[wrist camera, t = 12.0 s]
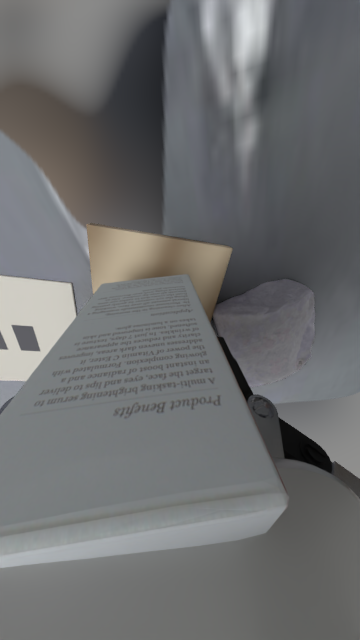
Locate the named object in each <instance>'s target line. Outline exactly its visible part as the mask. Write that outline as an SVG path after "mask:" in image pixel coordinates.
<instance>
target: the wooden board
mask: <svg viewBox="0 0 360 640" xmlns="http://www.w3.org/2000/svg"><path fill="white" fill-rule="evenodd" d="M87 235H88V245H89V256H90V266H91V277H92V288H93V295H94V293H95V292H96V291H97V289H98V288H99V287H100V285H101V284H104V283H113V282H120V281H129V280H138V279H147V278H156V277H165V276H174V275H183V274H188V275H189V276H190V279H191V281H192V283H193V286H194V288H195V290H196V292H197V294H198V296H199V298H200V301H201V303H202V305H203V307H204V310H205V312H206V314H207V317H208V319H209V321H210V322H211V319H212V315H213V312H214V309H215V306H216V302H217V299H218V296H219V292H220V289H221V286H222V282H223V279H224V276H225V272H226V269H227V266H228V262H229V259H230V256H231V252H232V249H233V248H231V247H229V246H225V245H219V244H213V243H207V242H201V241H195V240H189V239H183V238H177V237H171V236H165V235H159V234H153V233H147V232H141V231H135V230H129V229H123V228H117V227H111V226H105V225H99V224H93V223H90V224H87Z"/></svg>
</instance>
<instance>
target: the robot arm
mask: <svg viewBox="0 0 360 640" xmlns="http://www.w3.org/2000/svg"><path fill="white" fill-rule="evenodd" d="M217 338H218V340H219V342H220V344H221V347H222V349H223V351H224V353H225V356H226V358H227V360H228V362H229V364H230V367H231V369H232V371H233V373H234V376H235V378H236V380H237V383H238V385H239V387H240V389H241V391H242V393H243V395H244V397H245V400H246V402H247V404H248V406H249V408H250V410H251V413H252V415H253V417H254V419H255V421H256V424H257V426H258V428H259V430H260V433H261V435H262V437H263V439H264V442H265V444H266V446H267V448H268V450H269V453H270V455H271V457H272V459H273V461H274V463H275V465H276V467H277V469H278V472H279V474H280V476H281V479H282V481H283V483H284V486H285V488H286V490H287V493H288V495H289V502H288V506H287V508H286V509H285V511H284V512H283V513H282V514H281V515H280V517H279V518H278V519H277V520H276V522H275V523H274V524H273V525H272V527H271V528H270V529H269V530H268V531H267V532H266V533H264V534H260V535H256V536H252V537H248V538H245V539H241V540H236V541H229V542H223V543H216V544H209V545H202V546H193V547H185V548H176V549H167V550H158V551H149V552H140V553H131V554H123V555H114V556H106V557H97V558H89V559H80V560H69V561H59V562H50V563H40V564H30V565H21V566H13V567H5V568H0V640H360V479H359V478H358V477H356V476H355V475H353V474H352V473H351V472H349V471H348V470H346V469H345V468H344V467H342V466H341V465H340V464H338V463H337V462H335V461H334V462H333V463H332V462H331V461H330V458H329V456H328V455H327V454H326V452H325V451H324V450H323V449H322V448H321V447H320V446H319V445H318V444H317V443H316V442H314V441H313V440H311V439H309V438H308V437H307V436H305V435H304V434H302V433H301V432H299V431H298V430H297V429H295V428H294V427H292V426H291V425H289V424H288V423H286V422H285V421H283V420H281V419H280V418H279V417H278V413H277V409H276V408H275V406H274V405H273V403H272V402H271V401H270V400H268V399H267V398H265V397H263V396H261V395H253V393H252V391H251V389H250V387H249V385H248V383H247V381H246V379H245V377H244V375H243V373H242V371H241V369H240V367H239V365H238V363H237V361H236V359H235V358H233V356H232V354H231V352H230V350H229V348H228V346H227V344H226V342H225V340H224V338H223V337H218V336H217ZM14 397H15V396H14ZM14 397H12V398H11V399H9V400H8V401H7V402H6V403H5V404H4V405H3V406H2V407H1V408H0V415H1V413H2V412H3V411H4V409H5V408H6V407H7V405H8V404H9V403H10V402H11V400H12V399H13V398H14Z"/></svg>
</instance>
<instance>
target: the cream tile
mask: <svg viewBox="0 0 360 640" xmlns="http://www.w3.org/2000/svg"><path fill="white" fill-rule="evenodd" d="M76 316H77V312H76V306H75V299H74V293H73V286H72V283H68V282H59V281H50V280H42V279H33V278H24V277H15V276H6V275H0V380H4V381H27V380H28V378H29V377H30V376H31V374H32V373H33V372H34V370H35V369H36V368H37V367H38V365H39V364H40V363H41V361H42V360H43V359H44V357H45V356H46V355H47V354H48V353H49V351H50V350H51V349H52V347H53V346H54V345H55V343H56V342H57V341H58V339H59V338H60V337H61V336H62V334H63V333H64V332H65V330H66V329H67V328H68V327H69V325H70V324H71V323H72V322H73V320H74V319H75V318H76Z"/></svg>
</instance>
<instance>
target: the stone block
mask: <svg viewBox="0 0 360 640" xmlns="http://www.w3.org/2000/svg"><path fill="white" fill-rule="evenodd" d="M314 306H315V301H314V293H313V291H311V289H309V288H308V287H307V286H305V285H304V284H301V283H298V282H296V281H292V280H289V279H281V280H277V281H270V282H266V283H262V284H261V285H259V286H257V287H255V288H253V289H250V290H249V291H247V292H246V293H245V294H242V295H239V296H235V297H232V298H230V299H228V300H226V301H224V302H222V303H220V304H217V305H216V306H215V309H214V312H213V315H212V316H213V320H214V323H215V326H216V329H217V332H218V336H219V337H223V338H224V340H225V342H226V344H227V346H228V348H229V350H230V352H231V354H232V356H233V358H235V359H236V361H237V363H238V365H239V367H240V369H241V371H242V373H243V375H244V377H245V379H246V381H247V383H248V385H249V387H256V386H260V385H266V384H270V383H273V382H277V381H279V380H283V379H286V378H287V377H288V376H290V375H292V374H293V373H294V372H297V371H299V370H300V369H301V367H302V366H303V365H305V364H306V363H307V361H308V360H309V359H310V358H311V356H312V353H311V347H312V346H313V343H314V337H315V327H314V321H315V310H314Z"/></svg>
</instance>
